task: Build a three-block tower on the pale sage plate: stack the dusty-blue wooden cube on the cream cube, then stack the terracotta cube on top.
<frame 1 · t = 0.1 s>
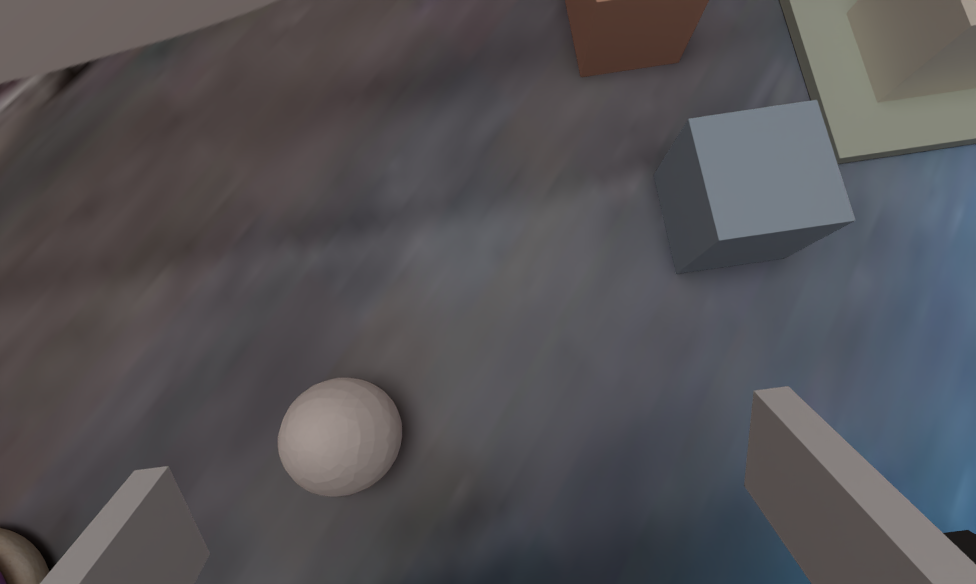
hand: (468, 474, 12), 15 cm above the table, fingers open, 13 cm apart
block b: (716, 216, 29), on the table
block a: (913, 49, 29), point 1 cm above the table, touching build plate
block c: (619, 28, 32), on the table
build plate: (902, 58, 30), on the table
egg: (365, 430, 27), on the table
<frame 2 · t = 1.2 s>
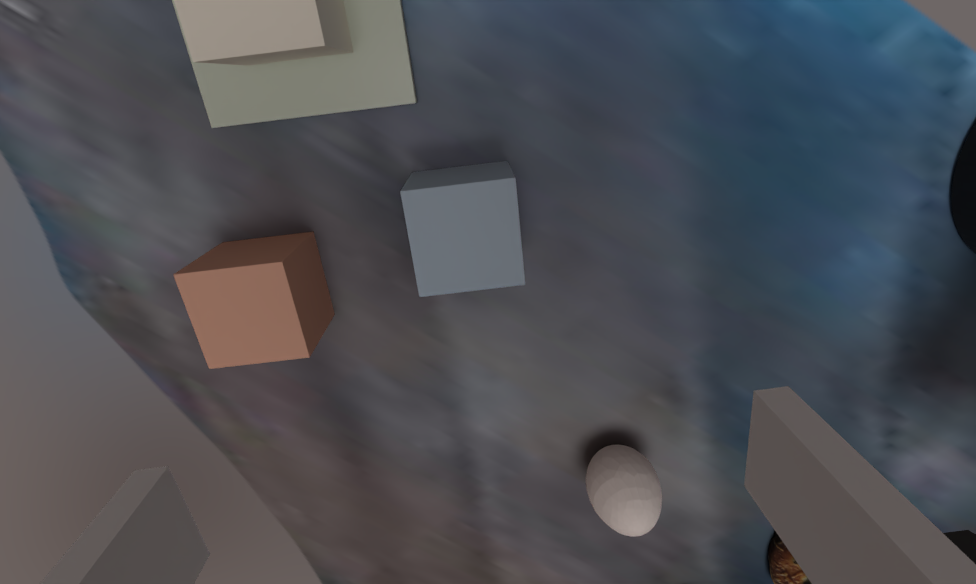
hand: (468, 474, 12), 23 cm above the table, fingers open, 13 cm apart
block b: (466, 213, 33), on the table
bread roll: (821, 540, 46), on the table
block c: (280, 279, 34), on the table
egg: (610, 452, 41), on the table
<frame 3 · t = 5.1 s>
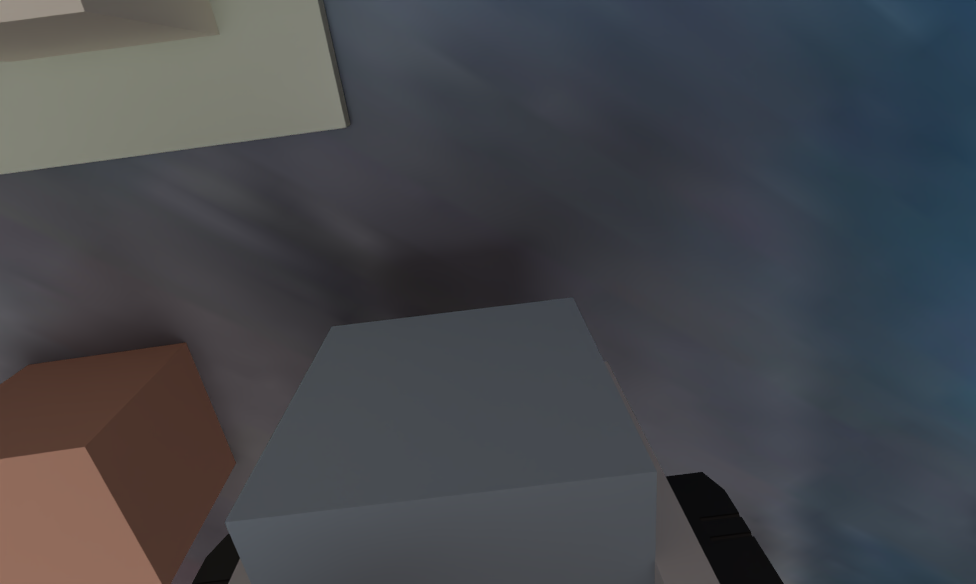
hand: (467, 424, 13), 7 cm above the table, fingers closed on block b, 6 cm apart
block b: (467, 411, 14), point 7 cm above the table, touching gripper
block c: (139, 415, 21), on the table
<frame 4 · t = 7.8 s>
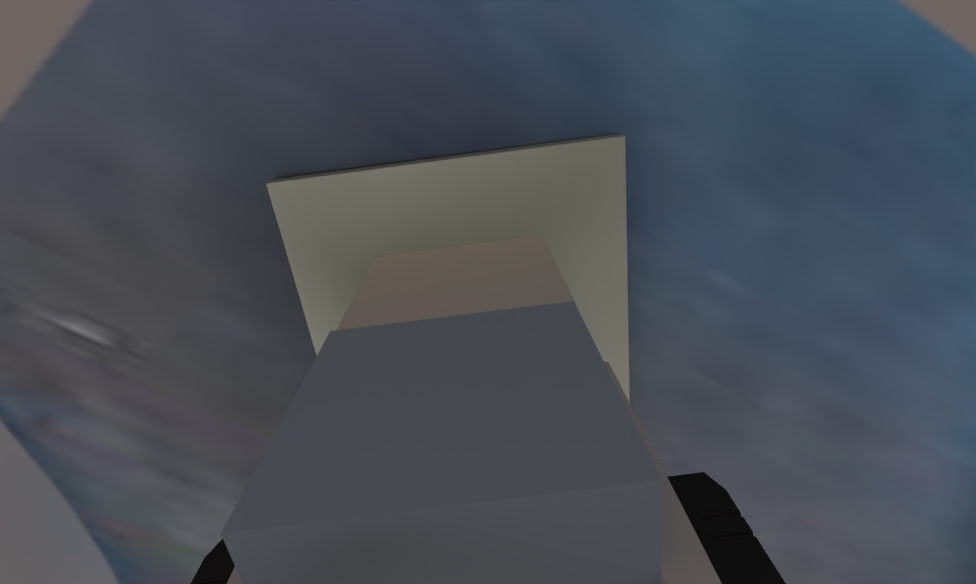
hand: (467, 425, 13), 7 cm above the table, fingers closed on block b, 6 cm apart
block b: (468, 416, 14), point 7 cm above the table, touching block a, gripper
block a: (469, 321, 19), point 1 cm above the table, touching block b, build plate, gripper
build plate: (469, 312, 20), on the table
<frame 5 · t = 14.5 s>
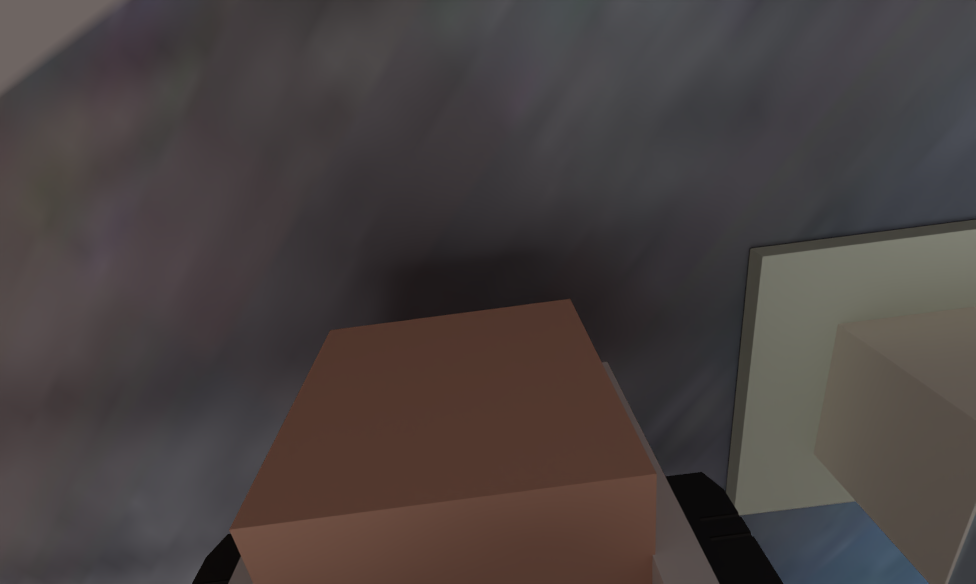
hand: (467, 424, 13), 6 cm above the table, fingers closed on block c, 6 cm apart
block a: (903, 383, 19), point 1 cm above the table, touching block b, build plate
block c: (466, 413, 14), point 5 cm above the table, touching gripper
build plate: (887, 371, 20), on the table
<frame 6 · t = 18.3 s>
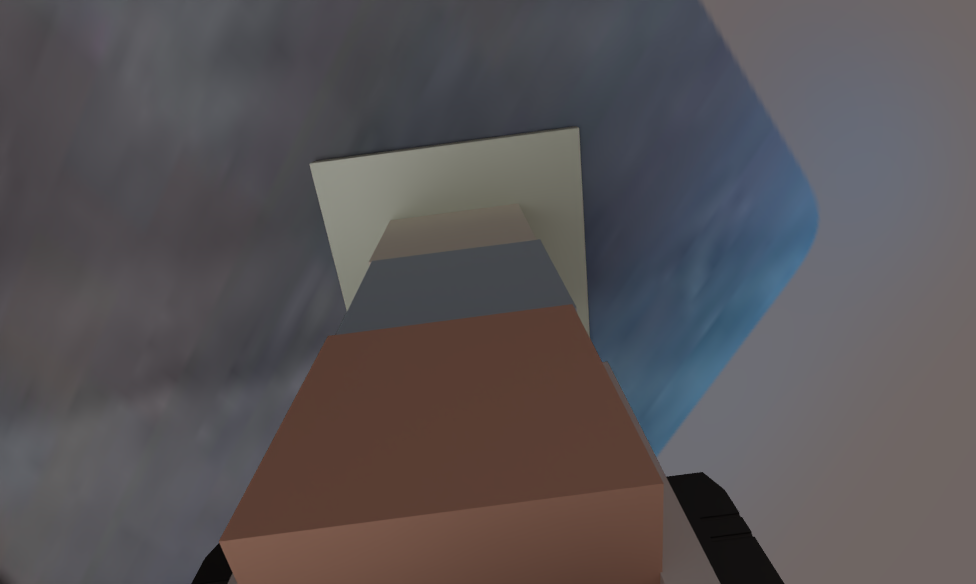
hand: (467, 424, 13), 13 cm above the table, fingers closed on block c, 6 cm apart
block b: (467, 325, 19), point 7 cm above the table, touching block a, block c, gripper
block a: (463, 272, 25), point 1 cm above the table, touching block b, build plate
block c: (466, 421, 13), point 13 cm above the table, touching block b, gripper
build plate: (463, 266, 25), on the table
when the fingers open (13 cm above the table, at t = 18.7 s): block c stays where it is, resting on block b.
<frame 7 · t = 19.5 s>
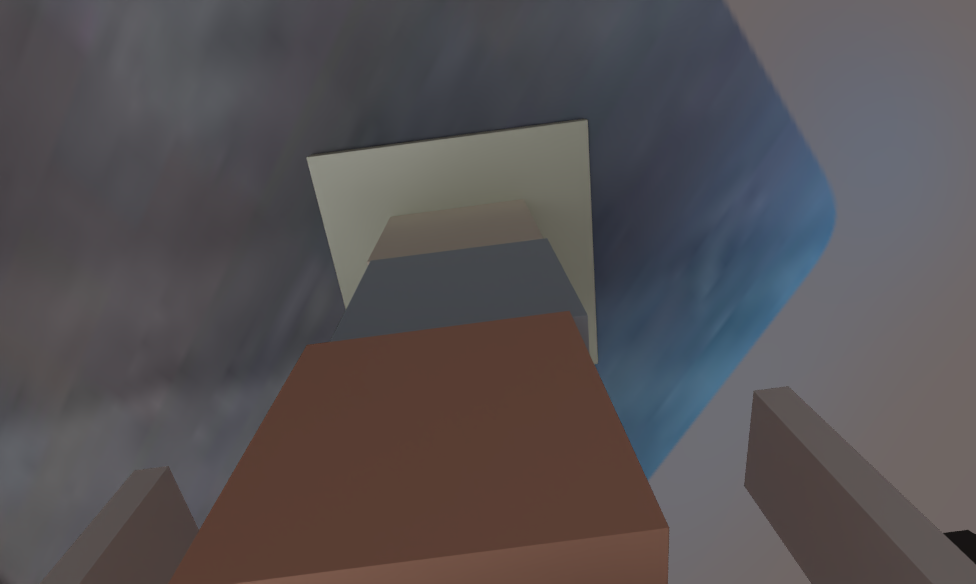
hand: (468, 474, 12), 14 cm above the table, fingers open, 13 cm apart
block b: (470, 328, 18), point 7 cm above the table, touching block a, block c
block a: (466, 270, 24), point 1 cm above the table, touching block b, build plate
block c: (457, 433, 13), point 13 cm above the table, touching block b
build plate: (466, 264, 24), on the table
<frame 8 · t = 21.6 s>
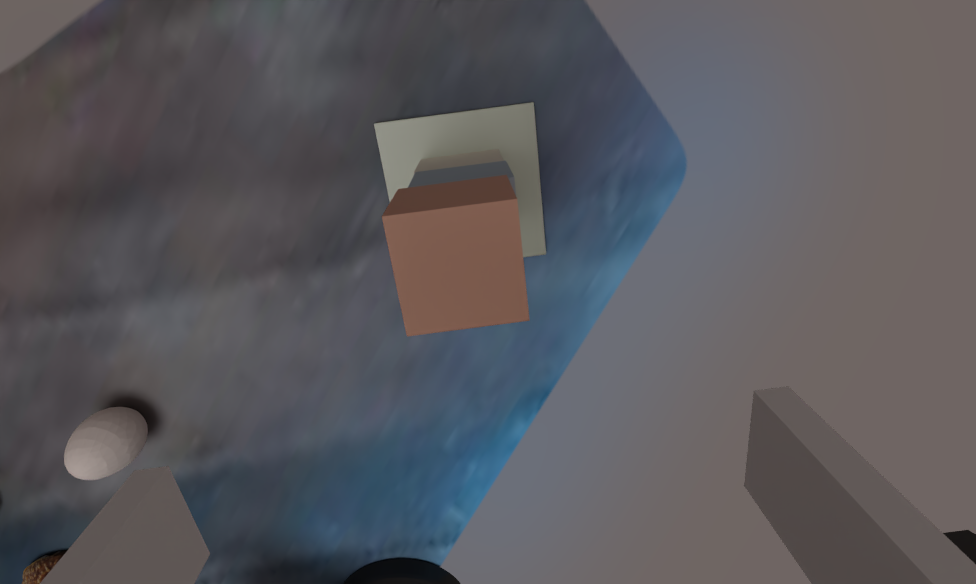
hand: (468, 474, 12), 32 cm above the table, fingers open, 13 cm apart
block b: (466, 210, 34), point 7 cm above the table, touching block a, block c
bread roll: (88, 579, 56), on the table
block a: (465, 192, 40), point 1 cm above the table, touching block b, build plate
block c: (460, 234, 29), point 13 cm above the table, touching block b
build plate: (464, 190, 41), on the table
egg: (133, 415, 48), on the table
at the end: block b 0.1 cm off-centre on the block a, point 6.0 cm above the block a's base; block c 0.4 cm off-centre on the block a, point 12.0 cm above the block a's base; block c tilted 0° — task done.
